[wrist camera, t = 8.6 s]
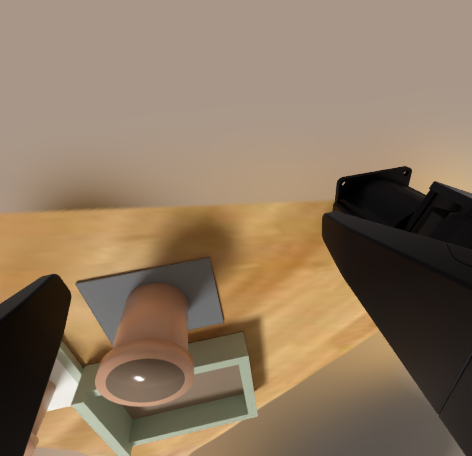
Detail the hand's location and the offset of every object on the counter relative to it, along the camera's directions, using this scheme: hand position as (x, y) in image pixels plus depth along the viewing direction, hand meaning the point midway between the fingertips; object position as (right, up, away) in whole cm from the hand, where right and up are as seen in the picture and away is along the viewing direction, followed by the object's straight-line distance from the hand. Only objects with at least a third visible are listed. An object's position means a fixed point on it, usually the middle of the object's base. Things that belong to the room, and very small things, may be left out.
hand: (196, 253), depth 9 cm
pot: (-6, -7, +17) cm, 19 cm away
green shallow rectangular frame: (-6, -19, +24) cm, 31 cm away
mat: (-6, -7, +17) cm, 19 cm away
